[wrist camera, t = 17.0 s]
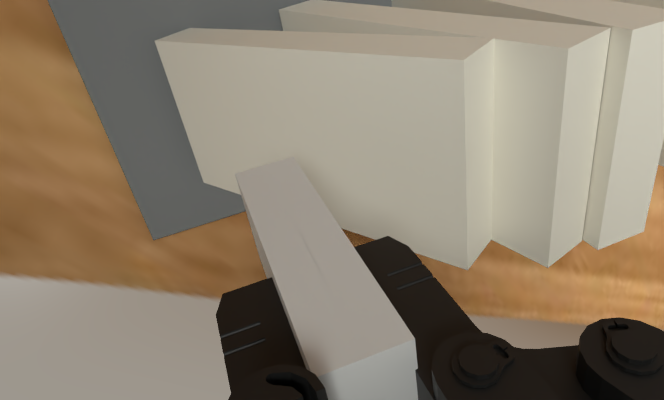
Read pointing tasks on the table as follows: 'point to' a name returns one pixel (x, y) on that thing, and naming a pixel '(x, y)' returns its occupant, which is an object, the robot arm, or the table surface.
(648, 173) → the domino
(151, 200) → the mat
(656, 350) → the robot arm
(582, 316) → the table surface
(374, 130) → the domino
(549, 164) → the domino
